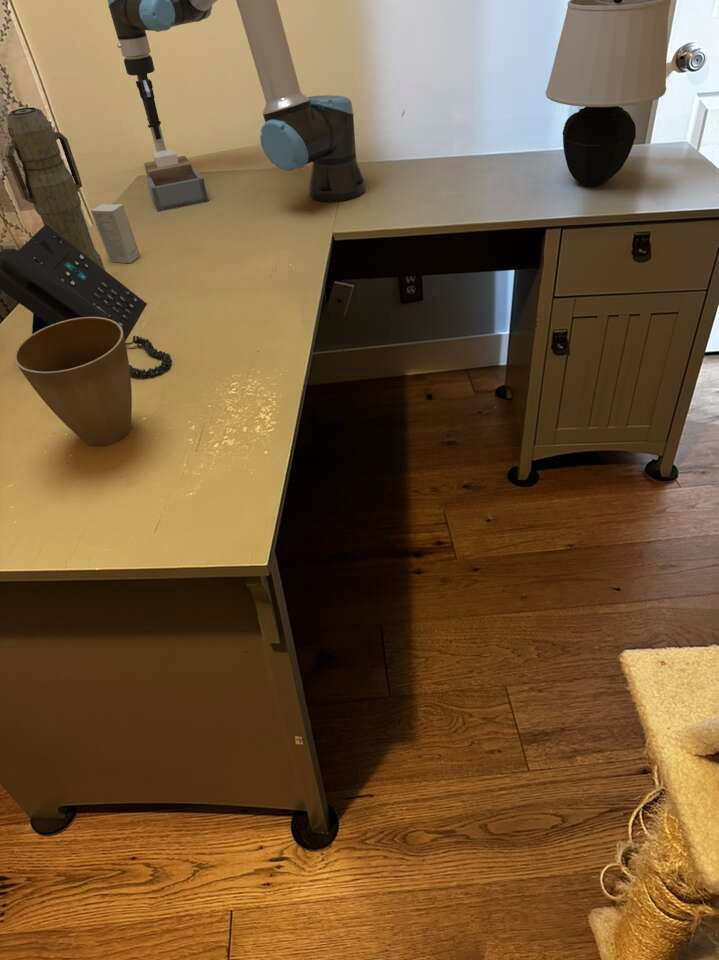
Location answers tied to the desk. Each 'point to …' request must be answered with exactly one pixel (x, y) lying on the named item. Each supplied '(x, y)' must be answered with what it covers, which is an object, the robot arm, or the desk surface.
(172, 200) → the box
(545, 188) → the desk surface
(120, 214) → the skincare box
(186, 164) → the brown block
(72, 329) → the plant pot
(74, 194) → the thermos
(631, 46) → the table lamp
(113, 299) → the office phone
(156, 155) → the cream tile
